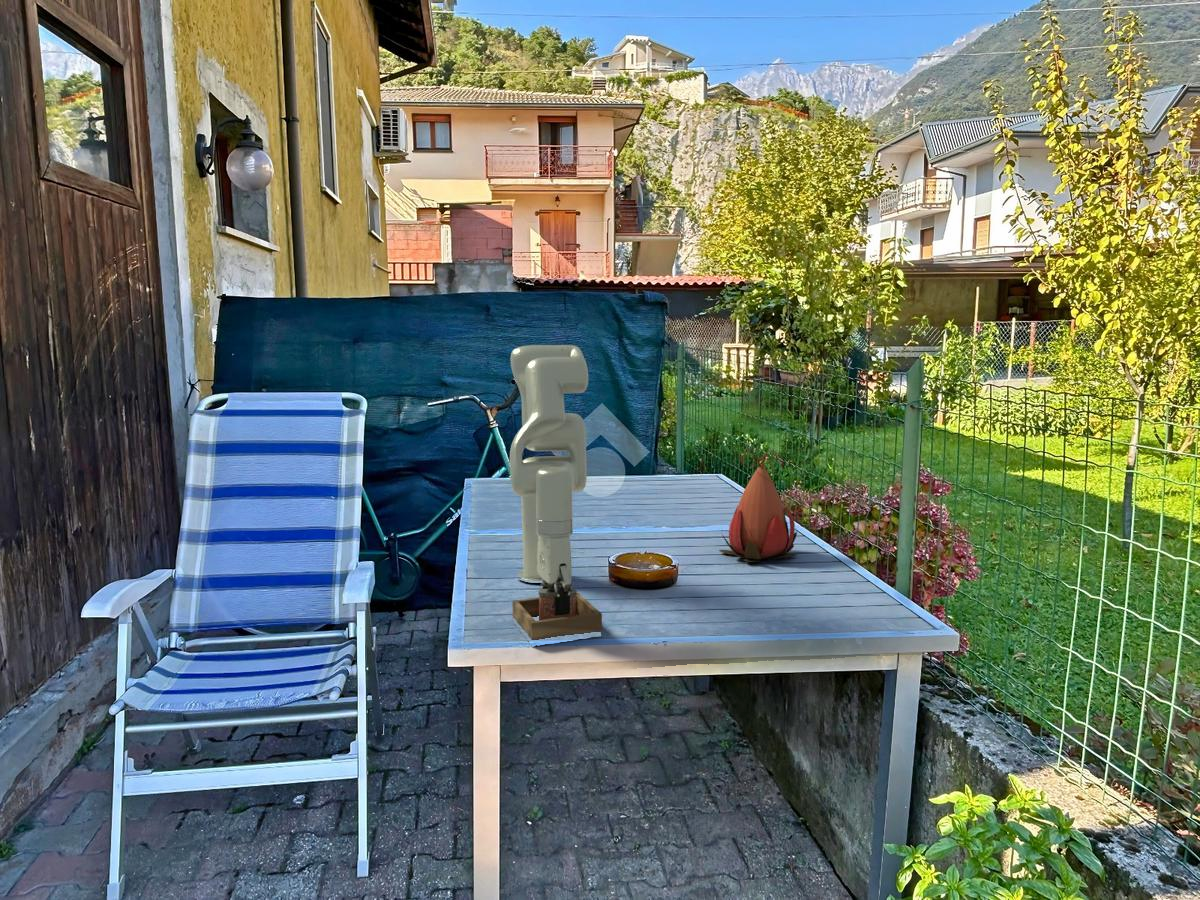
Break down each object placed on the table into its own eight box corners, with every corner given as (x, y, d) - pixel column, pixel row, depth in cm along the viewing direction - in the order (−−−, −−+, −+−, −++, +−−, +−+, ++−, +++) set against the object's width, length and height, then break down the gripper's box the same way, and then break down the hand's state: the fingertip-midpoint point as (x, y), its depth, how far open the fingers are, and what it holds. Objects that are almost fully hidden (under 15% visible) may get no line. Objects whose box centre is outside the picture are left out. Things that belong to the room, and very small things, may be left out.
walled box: (512, 622, 174) (512, 600, 173) (577, 614, 179) (577, 592, 178) (532, 647, 160) (531, 623, 159) (602, 636, 165) (601, 613, 164)
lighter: (575, 621, 171) (576, 576, 170) (576, 627, 168) (577, 581, 167) (537, 622, 170) (538, 577, 169) (538, 628, 167) (539, 581, 166)
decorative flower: (798, 548, 233) (801, 447, 229) (795, 571, 211) (798, 458, 207) (723, 544, 239) (724, 445, 234) (712, 565, 217) (713, 456, 212)
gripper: (525, 519, 173) (527, 598, 175) (550, 537, 157) (551, 624, 159) (558, 516, 176) (560, 594, 178) (585, 534, 160) (586, 619, 162)
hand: (556, 607), depth 169 cm, fingers open, 7 cm apart
